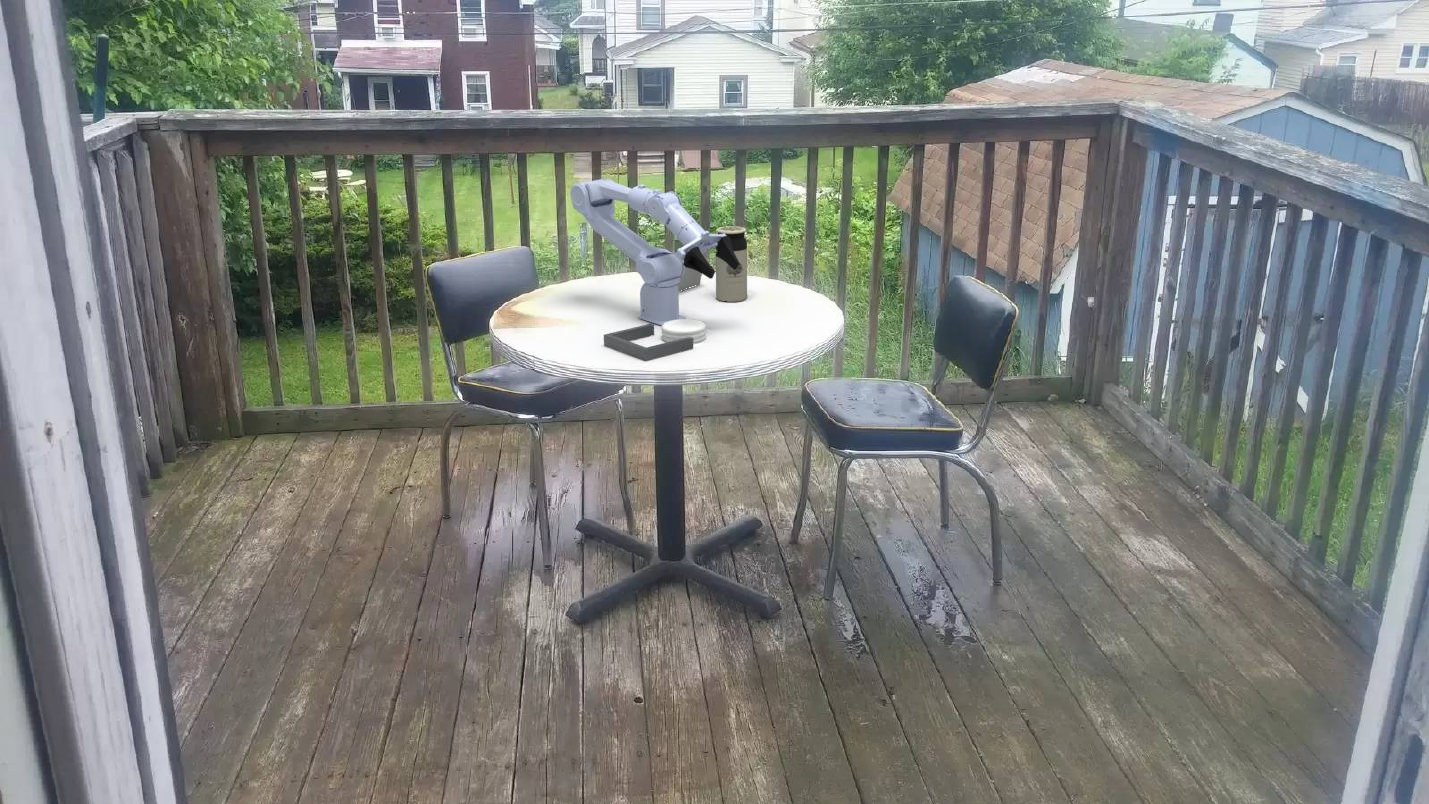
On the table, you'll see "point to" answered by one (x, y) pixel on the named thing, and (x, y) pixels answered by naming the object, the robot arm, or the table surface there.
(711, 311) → the table surface
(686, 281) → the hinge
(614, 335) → the frame
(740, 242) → the travel mug
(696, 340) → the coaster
